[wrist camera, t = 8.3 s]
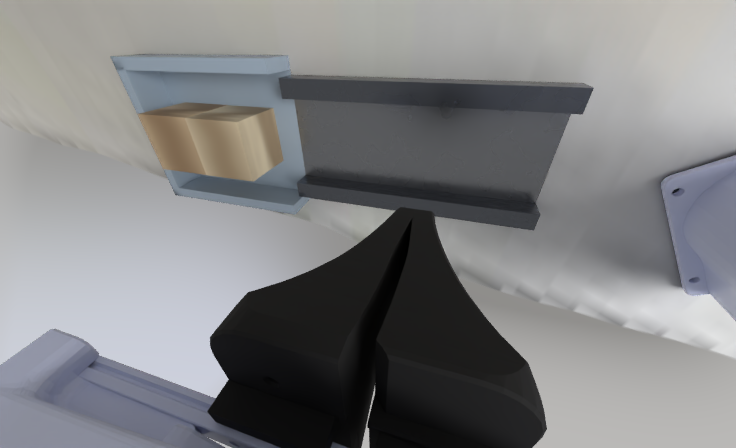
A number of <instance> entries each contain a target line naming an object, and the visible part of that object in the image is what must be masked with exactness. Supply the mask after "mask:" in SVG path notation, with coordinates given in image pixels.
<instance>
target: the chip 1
mask: <svg viewBox="0 0 736 448" xmlns="http://www.w3.org/2000/svg"><path fill="white" fill-rule="evenodd" d="M223 106H226V105H221V104H205V103H189V102H184V103H180V104H176V105H172V106H168V107H164V108H160V109H156V110H152V111H148V112H144V113H140V114H138V116H139V118H140V120H141V123H142V125H143V127H144V129H145V131H146V133H147V135H148V137H149V140H150V142H151V144H152V146H153V148H154V150H155V152H156V154H157V157H158V159H159V161H160V163H161V165H162V167H163V169H167V170H174V171H181V172H189V173H196V174H203V175H206V173H205V170H204V168H203V165H202V162H201V160H200V157H199V155H198V152H197V149H196V147H195V144H194V141H193V139H192V136H191V133H190V131H189V128H188V125H187V123H186V120H185V118H186V117H190V116H193V115H196V114H200V113H203V112H206V111H210V110H213V109H216V108H220V107H223Z"/></svg>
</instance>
